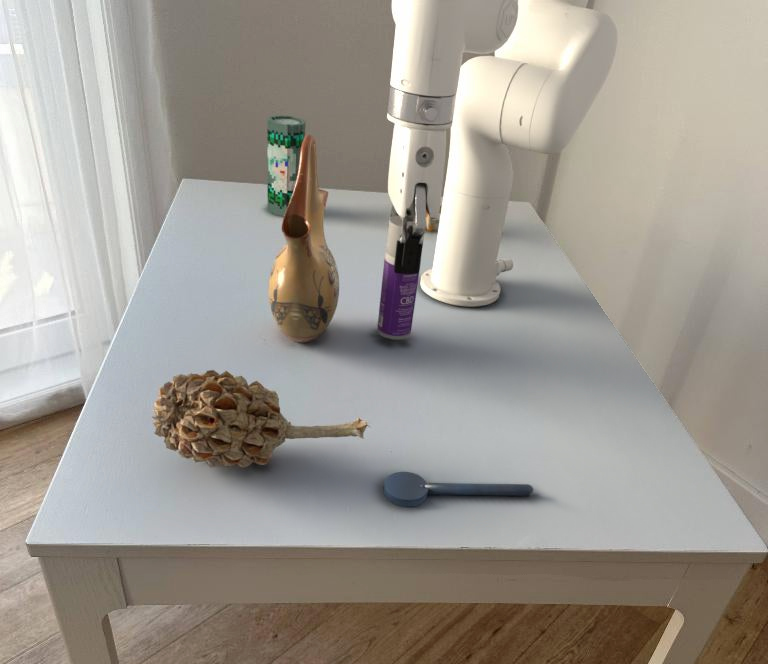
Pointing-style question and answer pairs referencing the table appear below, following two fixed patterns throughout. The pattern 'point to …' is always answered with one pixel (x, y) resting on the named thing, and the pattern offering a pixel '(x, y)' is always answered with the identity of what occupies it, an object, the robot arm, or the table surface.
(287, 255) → the ceramic vessel
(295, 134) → the can
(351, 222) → the table surface
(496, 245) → the robot arm
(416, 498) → the spoon
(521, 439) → the table surface
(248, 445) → the pine cone
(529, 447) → the table surface
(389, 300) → the container
